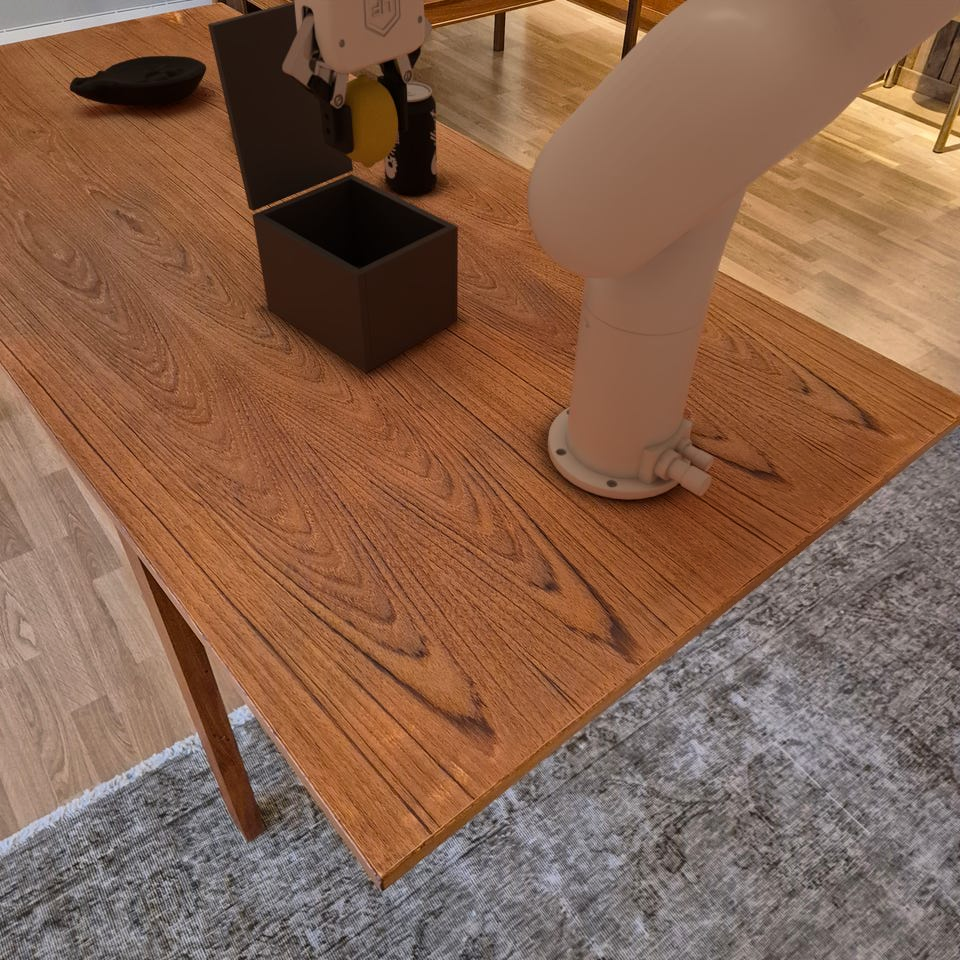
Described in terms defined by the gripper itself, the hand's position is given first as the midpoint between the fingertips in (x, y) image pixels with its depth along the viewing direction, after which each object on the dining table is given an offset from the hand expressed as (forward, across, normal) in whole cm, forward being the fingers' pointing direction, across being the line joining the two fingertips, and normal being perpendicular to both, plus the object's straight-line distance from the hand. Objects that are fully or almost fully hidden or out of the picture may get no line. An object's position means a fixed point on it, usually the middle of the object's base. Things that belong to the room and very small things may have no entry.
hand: (367, 135), depth 77 cm
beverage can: (+20, +24, +21) cm, 38 cm away
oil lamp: (+21, +15, +68) cm, 72 cm away
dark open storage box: (+20, 0, +3) cm, 20 cm away
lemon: (+3, 0, 0) cm, 3 cm away
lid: (+1, 0, +11) cm, 11 cm away
